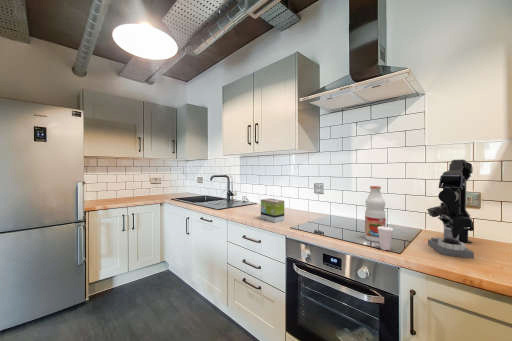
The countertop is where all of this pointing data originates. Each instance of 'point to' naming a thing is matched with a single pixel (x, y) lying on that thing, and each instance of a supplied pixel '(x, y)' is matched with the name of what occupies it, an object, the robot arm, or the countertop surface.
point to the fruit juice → (374, 214)
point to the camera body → (450, 248)
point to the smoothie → (385, 237)
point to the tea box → (272, 210)
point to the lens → (449, 235)
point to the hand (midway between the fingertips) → (451, 236)
